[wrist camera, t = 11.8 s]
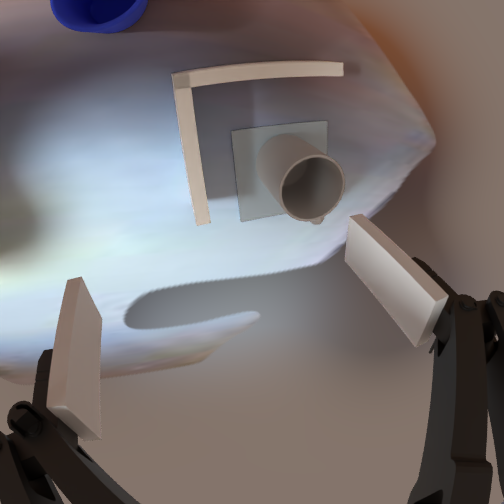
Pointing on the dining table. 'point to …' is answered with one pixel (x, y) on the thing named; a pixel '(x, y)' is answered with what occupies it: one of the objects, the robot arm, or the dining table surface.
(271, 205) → the pad
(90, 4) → the mug
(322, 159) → the cup
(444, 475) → the robot arm
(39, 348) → the dining table surface
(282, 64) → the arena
